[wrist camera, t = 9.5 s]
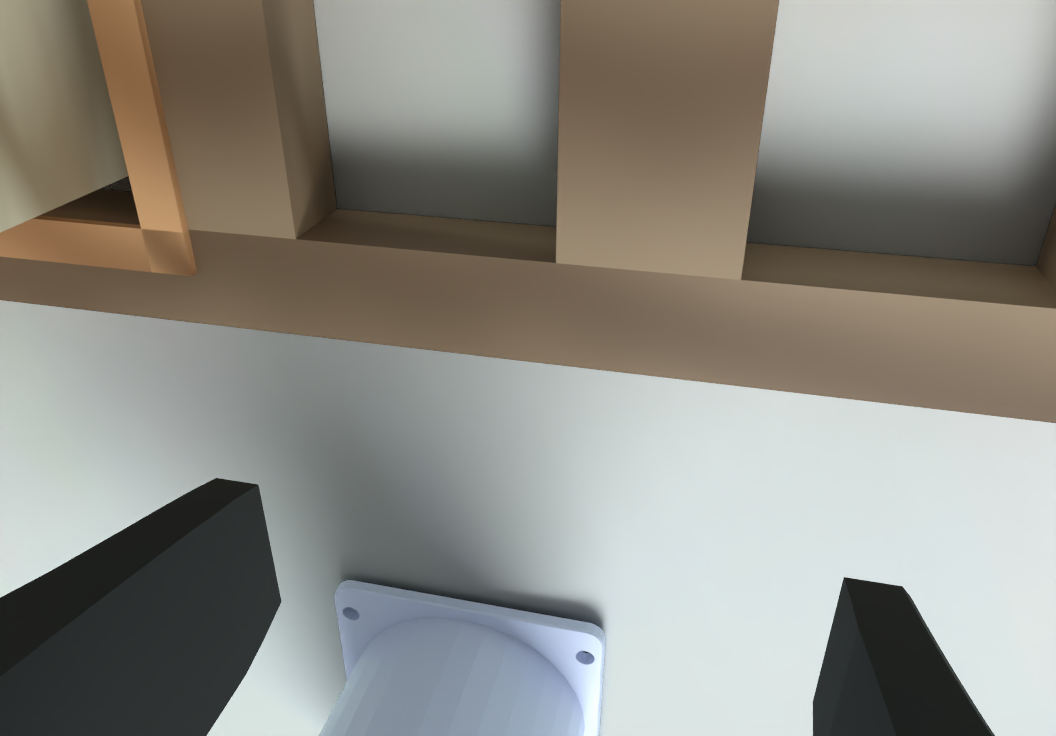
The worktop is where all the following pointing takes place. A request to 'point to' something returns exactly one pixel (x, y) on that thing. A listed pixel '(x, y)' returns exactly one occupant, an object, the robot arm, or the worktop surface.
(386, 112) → the worktop surface
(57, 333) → the worktop surface
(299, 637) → the worktop surface
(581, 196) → the brown slotted board
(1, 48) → the peg
